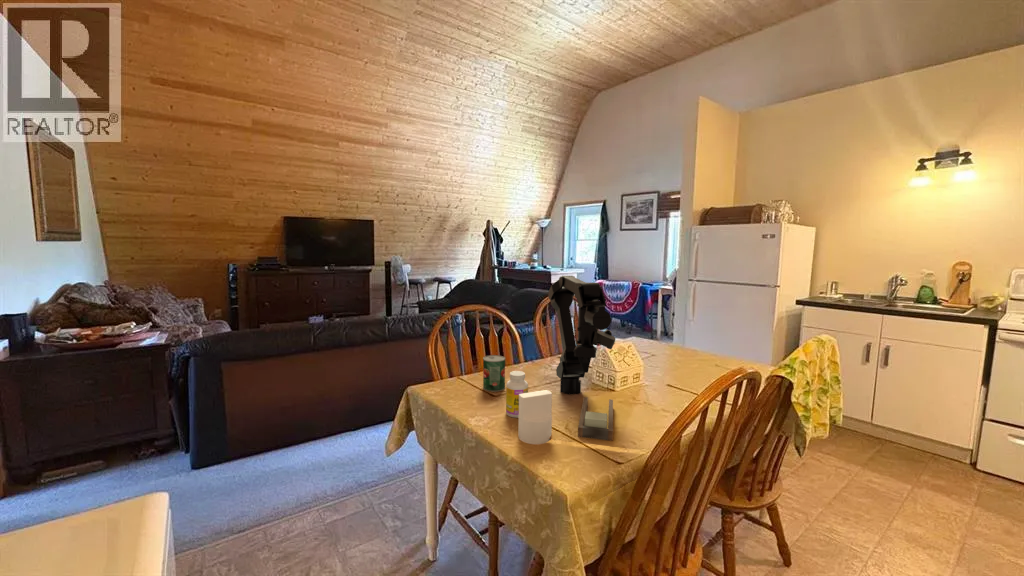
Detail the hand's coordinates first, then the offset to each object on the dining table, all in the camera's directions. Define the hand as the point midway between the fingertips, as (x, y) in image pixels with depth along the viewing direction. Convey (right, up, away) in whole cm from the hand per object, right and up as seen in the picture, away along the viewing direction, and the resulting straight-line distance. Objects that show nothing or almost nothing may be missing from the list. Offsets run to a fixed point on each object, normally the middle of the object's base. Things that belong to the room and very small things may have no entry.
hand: (586, 372), depth 131 cm
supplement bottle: (-22, -12, -3) cm, 25 cm away
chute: (+1, -13, -9) cm, 16 cm away
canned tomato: (-30, -10, +20) cm, 37 cm away
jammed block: (0, -13, -16) cm, 21 cm away
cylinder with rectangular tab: (-17, -14, -17) cm, 28 cm away
